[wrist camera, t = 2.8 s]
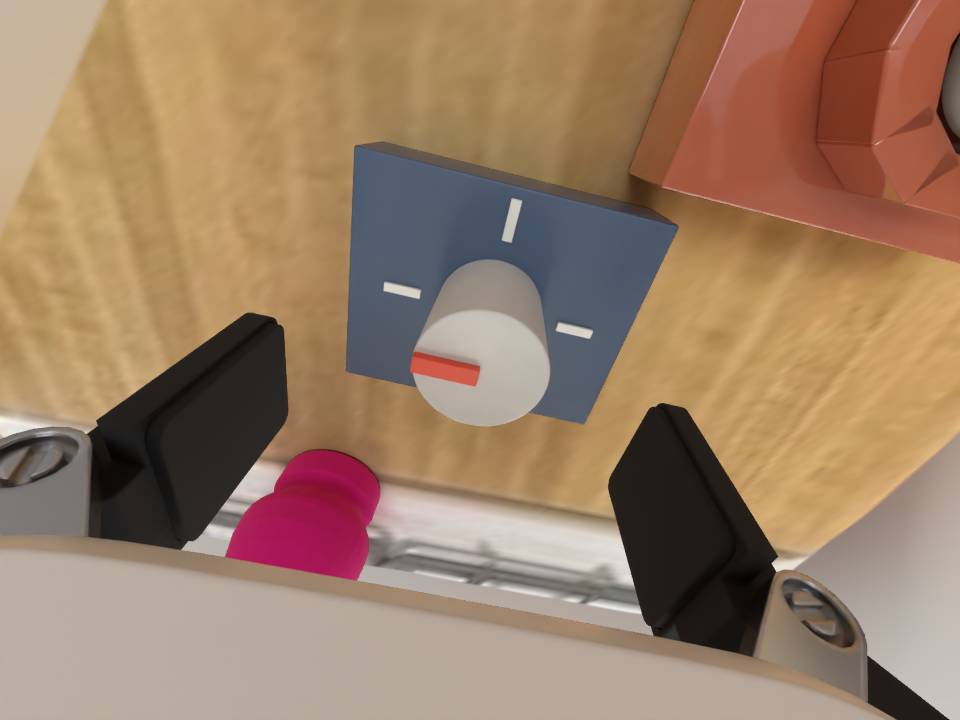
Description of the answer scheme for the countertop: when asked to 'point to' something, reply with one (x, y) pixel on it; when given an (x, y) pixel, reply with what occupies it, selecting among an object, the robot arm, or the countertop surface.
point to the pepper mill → (312, 517)
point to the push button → (952, 90)
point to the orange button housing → (815, 117)
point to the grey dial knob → (483, 346)
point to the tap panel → (496, 236)
